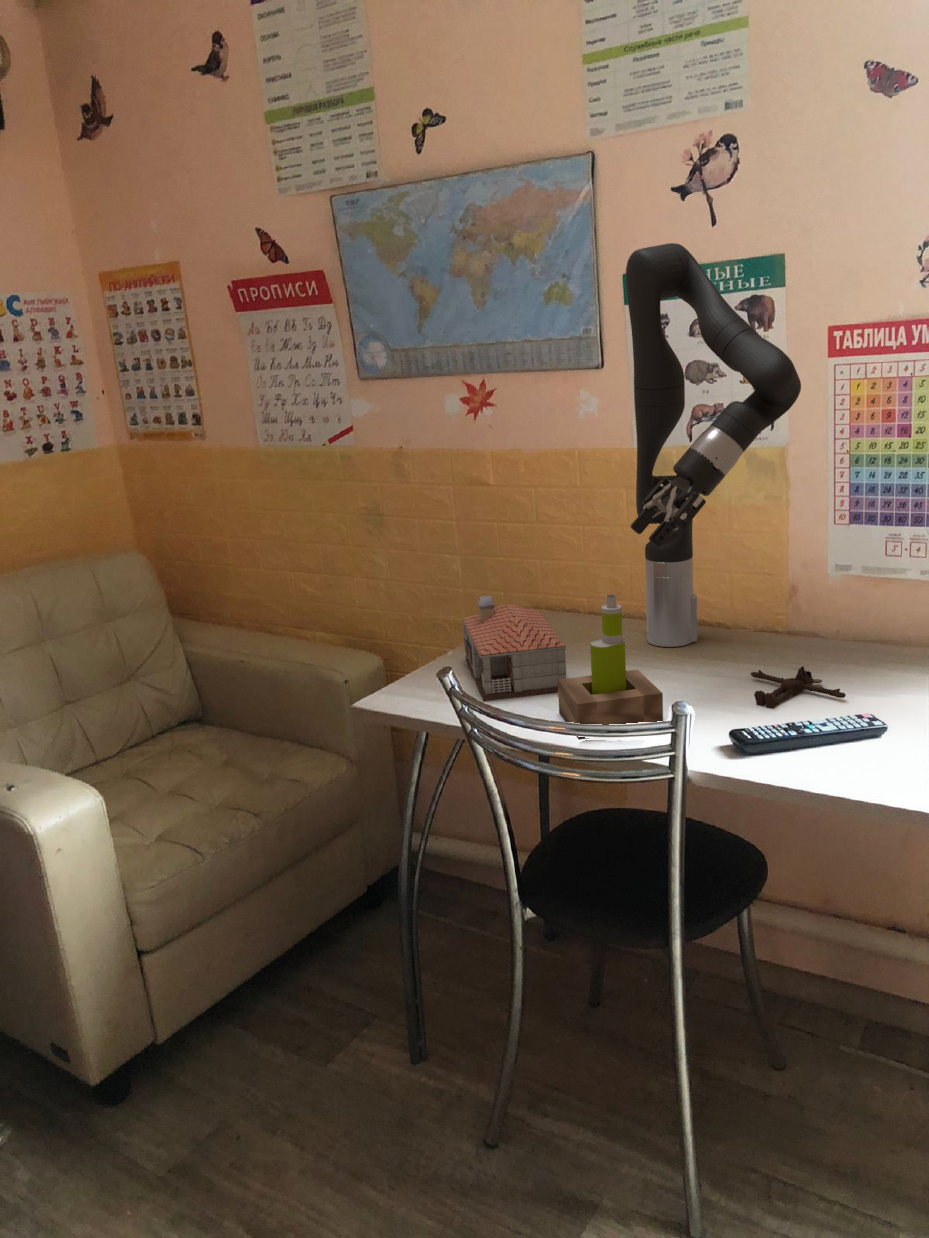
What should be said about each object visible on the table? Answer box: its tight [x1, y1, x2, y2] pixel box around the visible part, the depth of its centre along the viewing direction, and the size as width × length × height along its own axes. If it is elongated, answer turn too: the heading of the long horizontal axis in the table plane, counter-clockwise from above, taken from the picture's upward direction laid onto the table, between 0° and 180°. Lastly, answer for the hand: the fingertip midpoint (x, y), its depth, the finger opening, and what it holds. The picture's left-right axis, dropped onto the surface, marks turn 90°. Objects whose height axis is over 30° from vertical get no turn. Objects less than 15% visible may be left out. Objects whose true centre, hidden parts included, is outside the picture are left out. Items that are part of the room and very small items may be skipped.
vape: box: [589, 594, 627, 695], centre depth 167 cm, size 4×6×20 cm, turn 126°
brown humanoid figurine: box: [750, 665, 847, 709], centre depth 175 cm, size 18×4×14 cm
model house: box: [462, 595, 567, 702], centre depth 192 cm, size 24×16×15 cm, turn 8°
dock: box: [557, 669, 664, 741], centre depth 169 cm, size 14×12×6 cm
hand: (643, 537), depth 171 cm, fingers open, 8 cm apart
